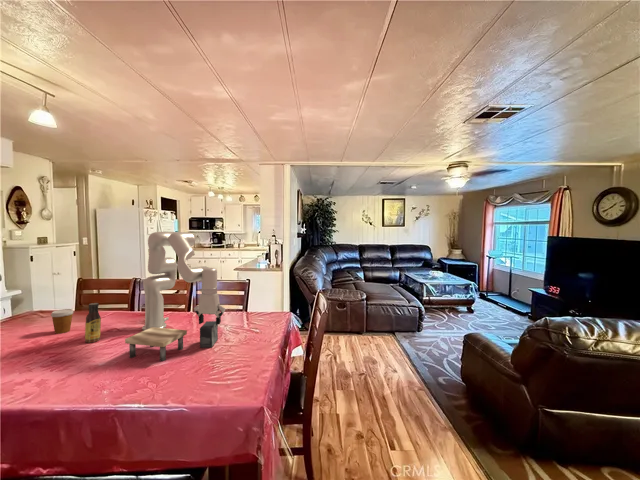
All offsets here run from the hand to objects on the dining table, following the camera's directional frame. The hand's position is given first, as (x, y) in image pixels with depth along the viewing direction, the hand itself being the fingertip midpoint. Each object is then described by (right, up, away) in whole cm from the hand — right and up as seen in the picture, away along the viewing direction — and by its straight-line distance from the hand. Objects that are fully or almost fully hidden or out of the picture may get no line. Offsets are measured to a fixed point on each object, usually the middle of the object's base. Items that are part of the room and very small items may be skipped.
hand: (209, 323), depth 143 cm
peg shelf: (-21, -11, -11) cm, 26 cm away
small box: (-1, -11, +1) cm, 11 cm away
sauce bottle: (-62, -10, +1) cm, 63 cm away
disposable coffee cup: (-90, -9, +13) cm, 91 cm away
